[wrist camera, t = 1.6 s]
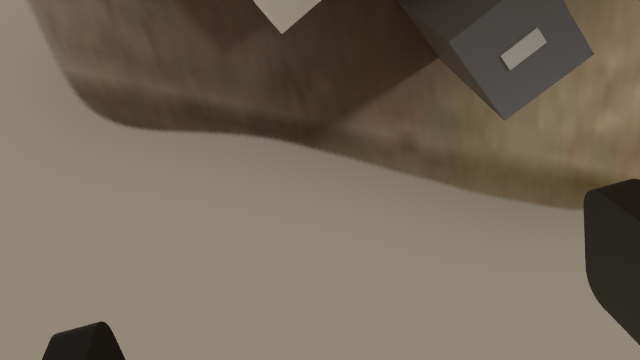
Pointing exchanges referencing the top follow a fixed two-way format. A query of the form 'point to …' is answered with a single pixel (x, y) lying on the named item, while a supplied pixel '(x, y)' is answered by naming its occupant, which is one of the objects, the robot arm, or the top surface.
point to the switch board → (285, 11)
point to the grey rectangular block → (502, 45)
